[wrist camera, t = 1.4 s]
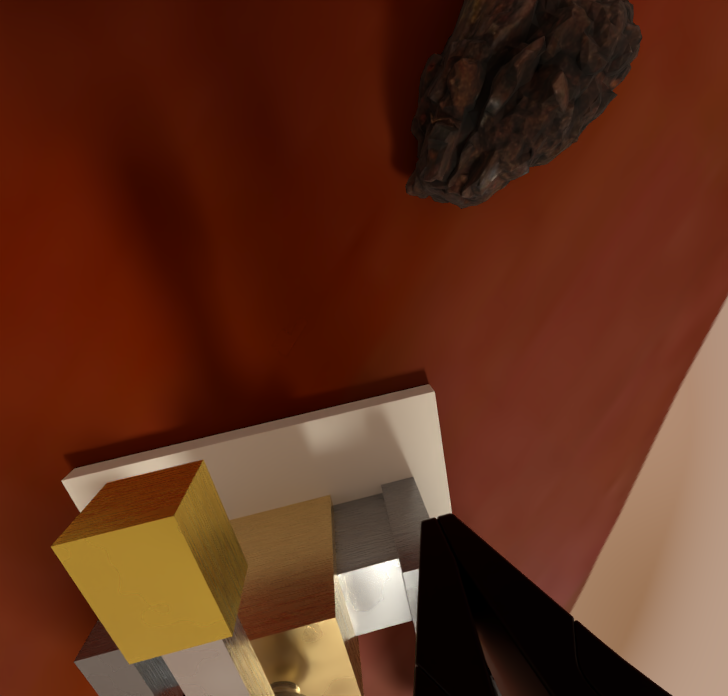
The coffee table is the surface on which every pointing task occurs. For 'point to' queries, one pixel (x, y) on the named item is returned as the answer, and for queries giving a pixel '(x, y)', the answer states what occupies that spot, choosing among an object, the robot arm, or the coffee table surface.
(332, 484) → the mounting board
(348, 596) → the blocks
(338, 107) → the coffee table surface
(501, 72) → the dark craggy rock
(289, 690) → the valve lever
